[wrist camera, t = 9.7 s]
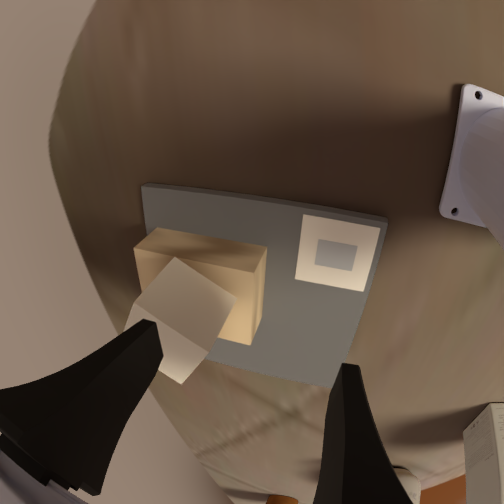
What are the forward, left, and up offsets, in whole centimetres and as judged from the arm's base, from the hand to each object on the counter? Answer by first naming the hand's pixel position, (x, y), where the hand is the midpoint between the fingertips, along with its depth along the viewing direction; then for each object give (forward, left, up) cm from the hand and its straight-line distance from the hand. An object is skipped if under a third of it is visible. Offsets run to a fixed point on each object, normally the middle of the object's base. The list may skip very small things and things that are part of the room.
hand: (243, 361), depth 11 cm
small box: (-28, +18, -11) cm, 34 cm away
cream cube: (+5, +4, -7) cm, 9 cm away
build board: (+2, +6, -10) cm, 12 cm away
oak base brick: (+5, +4, -10) cm, 12 cm away
